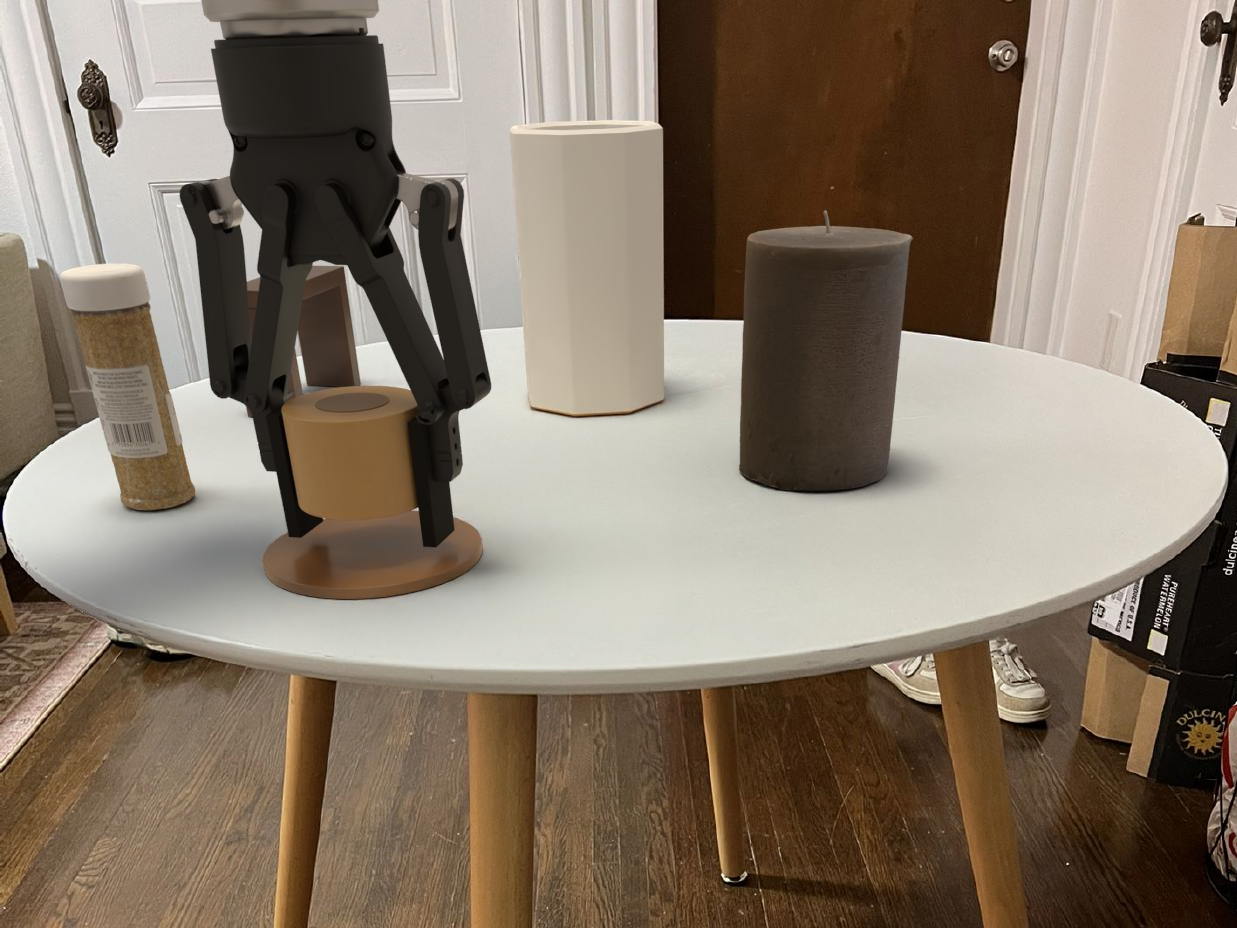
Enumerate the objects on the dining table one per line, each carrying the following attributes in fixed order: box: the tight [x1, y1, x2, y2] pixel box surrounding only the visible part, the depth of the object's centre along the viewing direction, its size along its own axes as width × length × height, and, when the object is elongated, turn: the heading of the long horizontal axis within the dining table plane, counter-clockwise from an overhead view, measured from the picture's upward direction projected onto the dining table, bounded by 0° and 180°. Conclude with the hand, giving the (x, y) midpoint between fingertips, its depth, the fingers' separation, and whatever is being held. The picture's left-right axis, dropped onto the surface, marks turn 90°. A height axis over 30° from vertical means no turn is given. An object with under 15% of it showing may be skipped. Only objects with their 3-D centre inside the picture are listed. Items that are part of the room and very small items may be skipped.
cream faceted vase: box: [509, 119, 665, 417], centre depth 88 cm, size 11×11×18 cm
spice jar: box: [59, 263, 196, 511], centre depth 71 cm, size 5×5×14 cm
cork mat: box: [262, 510, 483, 600], centre depth 65 cm, size 12×12×1 cm
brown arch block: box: [245, 265, 362, 418], centre depth 92 cm, size 4×11×9 cm, turn 166°
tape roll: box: [281, 385, 421, 520], centre depth 62 cm, size 7×7×5 cm
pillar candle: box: [738, 210, 914, 492], centre depth 73 cm, size 10×10×15 cm
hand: (371, 532), depth 65 cm, fingers closed on tape roll, 7 cm apart
